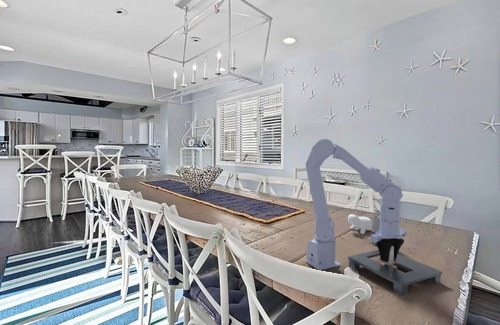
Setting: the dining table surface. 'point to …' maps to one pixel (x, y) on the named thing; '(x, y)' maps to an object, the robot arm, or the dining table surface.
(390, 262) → the keyhole peg
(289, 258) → the dining table surface
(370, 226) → the white animal figurine
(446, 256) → the dining table surface
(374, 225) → the energy drink
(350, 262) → the keyhole plate
